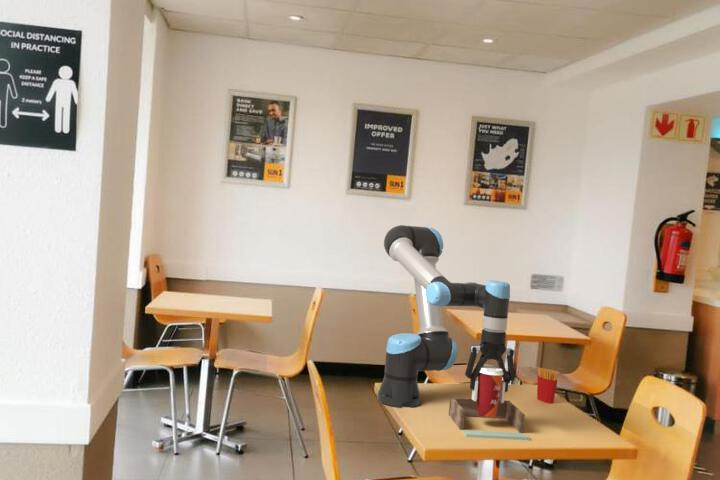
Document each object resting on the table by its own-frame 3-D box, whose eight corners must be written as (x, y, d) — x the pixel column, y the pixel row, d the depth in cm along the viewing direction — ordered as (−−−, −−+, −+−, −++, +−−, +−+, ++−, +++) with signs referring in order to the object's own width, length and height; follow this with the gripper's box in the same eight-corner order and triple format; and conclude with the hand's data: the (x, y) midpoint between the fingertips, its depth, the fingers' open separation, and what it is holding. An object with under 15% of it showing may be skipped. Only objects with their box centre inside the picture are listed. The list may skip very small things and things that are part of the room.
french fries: (556, 403, 231) (560, 372, 231) (549, 404, 229) (553, 372, 228) (539, 396, 238) (542, 366, 238) (532, 397, 236) (535, 366, 236)
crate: (448, 418, 201) (450, 397, 201) (507, 421, 203) (509, 400, 203) (459, 433, 187) (461, 410, 187) (522, 436, 189) (524, 414, 189)
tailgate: (460, 429, 187) (466, 434, 181) (522, 433, 189) (529, 437, 183) (460, 433, 187) (466, 438, 181) (522, 437, 189) (529, 441, 183)
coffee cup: (499, 420, 190) (504, 372, 189) (473, 416, 191) (477, 368, 191) (499, 412, 198) (503, 366, 197) (473, 408, 199) (477, 363, 199)
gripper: (521, 330, 199) (515, 399, 199) (458, 325, 196) (452, 395, 197) (530, 334, 191) (523, 406, 192) (465, 329, 189) (458, 402, 190)
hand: (487, 400), depth 194 cm, fingers closed on coffee cup, 8 cm apart
